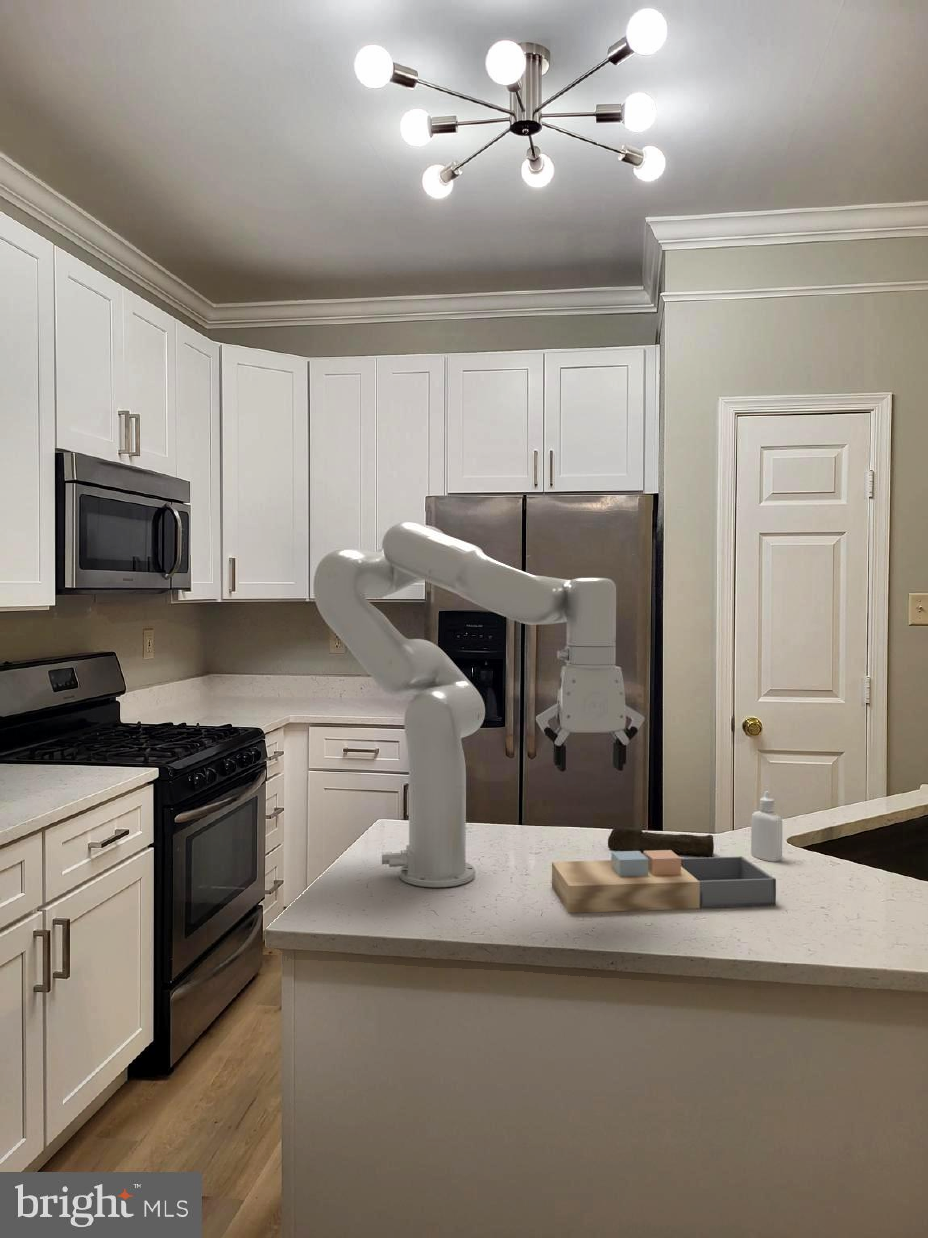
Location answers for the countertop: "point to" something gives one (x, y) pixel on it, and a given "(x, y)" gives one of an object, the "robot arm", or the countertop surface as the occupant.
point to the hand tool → (659, 842)
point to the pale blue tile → (629, 863)
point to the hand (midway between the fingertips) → (589, 769)
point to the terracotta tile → (663, 862)
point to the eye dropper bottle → (766, 831)
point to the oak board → (621, 888)
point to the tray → (731, 882)
